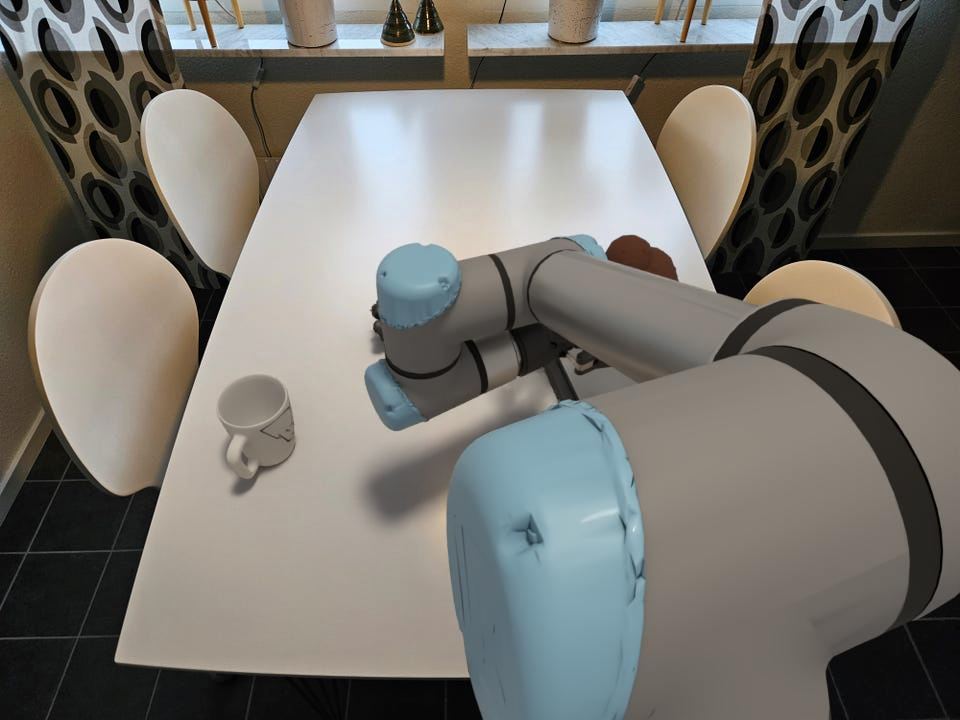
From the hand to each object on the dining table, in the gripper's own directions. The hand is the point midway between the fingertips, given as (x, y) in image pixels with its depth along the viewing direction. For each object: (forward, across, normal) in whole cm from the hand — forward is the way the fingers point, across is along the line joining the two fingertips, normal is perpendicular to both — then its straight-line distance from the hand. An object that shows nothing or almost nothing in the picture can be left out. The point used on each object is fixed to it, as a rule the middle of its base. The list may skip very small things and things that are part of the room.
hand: (657, 281), depth 78 cm
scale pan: (-3, 0, -17) cm, 17 cm away
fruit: (-22, -23, -20) cm, 37 cm away
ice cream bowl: (-4, 0, -8) cm, 9 cm away
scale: (-3, +1, -19) cm, 20 cm away
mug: (-49, -14, -20) cm, 55 cm away
